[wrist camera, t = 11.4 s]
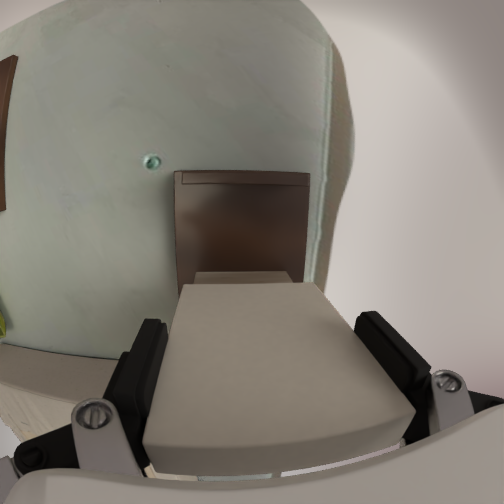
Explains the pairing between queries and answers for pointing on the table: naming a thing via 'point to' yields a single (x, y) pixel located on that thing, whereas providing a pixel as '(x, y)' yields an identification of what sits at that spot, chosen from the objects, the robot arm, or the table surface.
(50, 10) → the table surface
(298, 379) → the cream book
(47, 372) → the box
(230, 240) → the dark brown rack
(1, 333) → the green tray
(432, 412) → the robot arm
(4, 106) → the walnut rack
